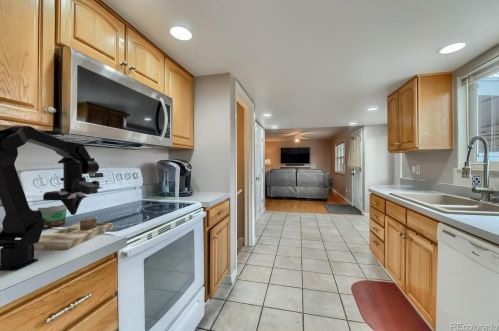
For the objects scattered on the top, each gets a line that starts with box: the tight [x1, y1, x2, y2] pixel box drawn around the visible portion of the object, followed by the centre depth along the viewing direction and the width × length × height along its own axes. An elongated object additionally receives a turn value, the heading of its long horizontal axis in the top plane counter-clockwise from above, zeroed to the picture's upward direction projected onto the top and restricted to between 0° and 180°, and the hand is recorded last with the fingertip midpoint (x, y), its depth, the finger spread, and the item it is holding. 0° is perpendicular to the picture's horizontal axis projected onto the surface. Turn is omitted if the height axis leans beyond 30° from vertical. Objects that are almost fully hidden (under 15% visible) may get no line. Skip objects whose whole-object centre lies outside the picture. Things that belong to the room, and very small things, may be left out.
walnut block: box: [79, 217, 98, 230], centre depth 91 cm, size 4×4×4 cm
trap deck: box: [33, 222, 114, 250], centre depth 88 cm, size 24×16×3 cm, turn 179°
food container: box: [37, 204, 68, 230], centre depth 102 cm, size 12×6×10 cm, turn 168°
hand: (73, 214), depth 83 cm, fingers closed
